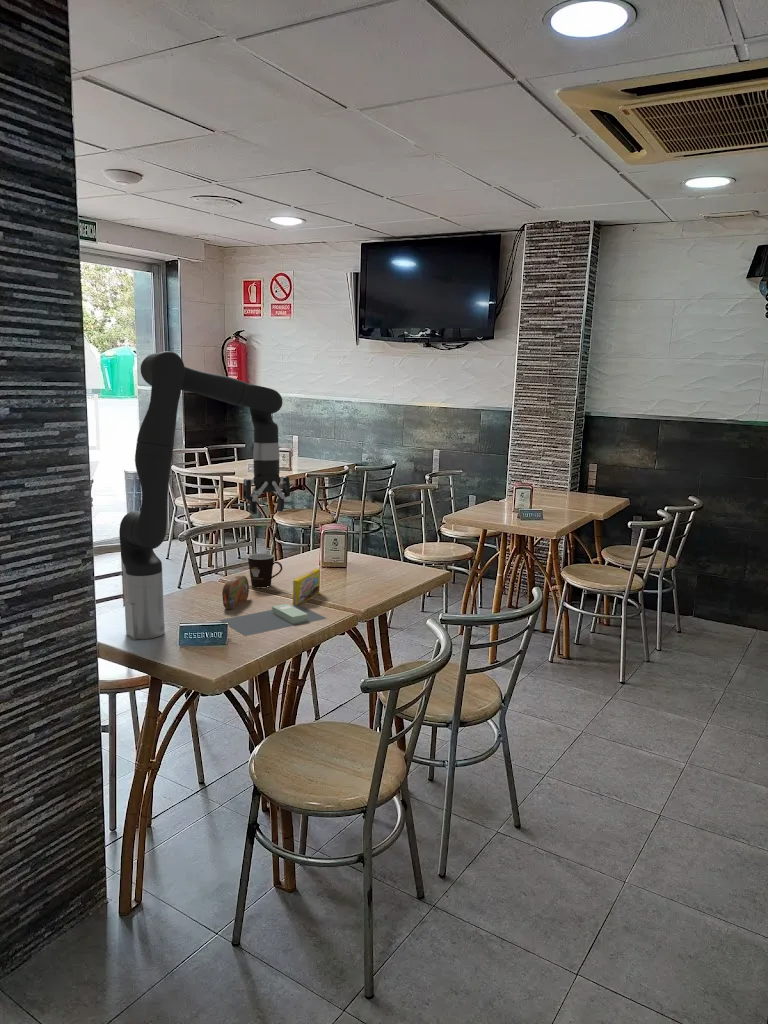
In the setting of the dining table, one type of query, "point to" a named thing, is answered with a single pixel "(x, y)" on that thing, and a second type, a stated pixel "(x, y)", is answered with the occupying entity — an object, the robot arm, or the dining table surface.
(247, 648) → the dining table surface
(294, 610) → the pale green box
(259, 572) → the coffee mug
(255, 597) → the dining table surface
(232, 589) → the tin
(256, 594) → the dining table surface
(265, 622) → the mat
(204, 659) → the dining table surface
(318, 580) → the candy box
